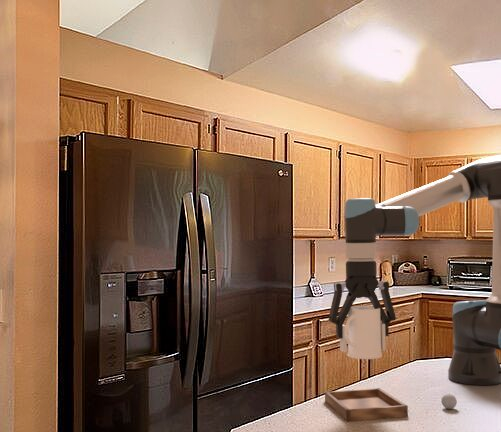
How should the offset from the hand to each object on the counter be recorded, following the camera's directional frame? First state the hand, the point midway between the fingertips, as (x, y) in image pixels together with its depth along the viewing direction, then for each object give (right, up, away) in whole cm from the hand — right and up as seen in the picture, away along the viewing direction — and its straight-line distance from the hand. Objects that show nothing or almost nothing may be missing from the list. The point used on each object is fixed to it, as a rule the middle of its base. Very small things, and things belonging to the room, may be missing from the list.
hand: (362, 350), depth 151 cm
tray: (0, -14, 0) cm, 14 cm away
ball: (+21, -14, -2) cm, 25 cm away
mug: (-1, -2, 0) cm, 2 cm away
